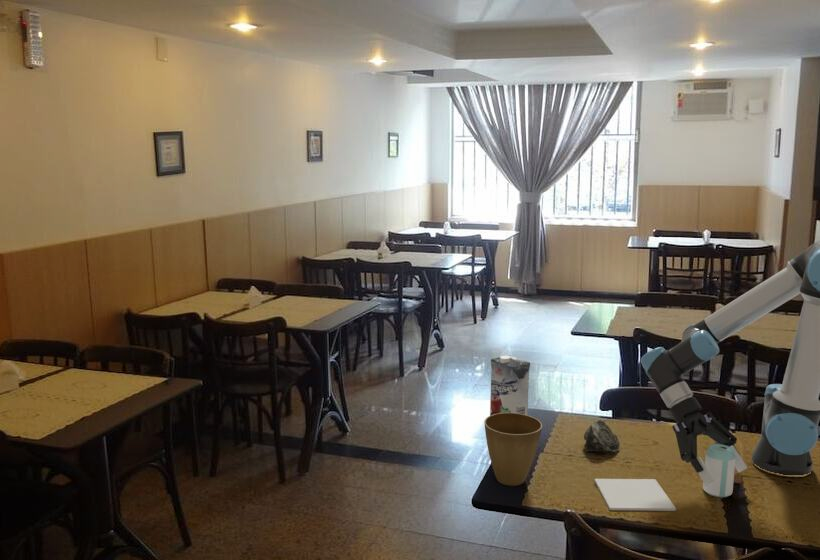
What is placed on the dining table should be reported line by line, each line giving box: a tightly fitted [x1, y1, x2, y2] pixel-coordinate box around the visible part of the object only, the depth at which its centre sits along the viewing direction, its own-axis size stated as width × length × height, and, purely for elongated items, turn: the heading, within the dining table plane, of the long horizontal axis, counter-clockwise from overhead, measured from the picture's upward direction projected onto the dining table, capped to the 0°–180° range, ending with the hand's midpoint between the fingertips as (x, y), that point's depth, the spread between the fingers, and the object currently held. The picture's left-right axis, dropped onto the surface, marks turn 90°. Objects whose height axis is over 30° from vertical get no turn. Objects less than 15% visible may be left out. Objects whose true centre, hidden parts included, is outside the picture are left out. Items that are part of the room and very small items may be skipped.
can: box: [702, 443, 736, 498], centre depth 193 cm, size 7×7×12 cm
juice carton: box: [489, 355, 531, 416], centre depth 221 cm, size 9×10×27 cm
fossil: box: [583, 419, 620, 455], centre depth 220 cm, size 11×9×10 cm
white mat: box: [594, 478, 677, 512], centre depth 192 cm, size 16×16×1 cm
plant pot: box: [484, 413, 543, 487], centre depth 199 cm, size 15×15×16 cm
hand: (727, 476), depth 191 cm, fingers open, 13 cm apart
